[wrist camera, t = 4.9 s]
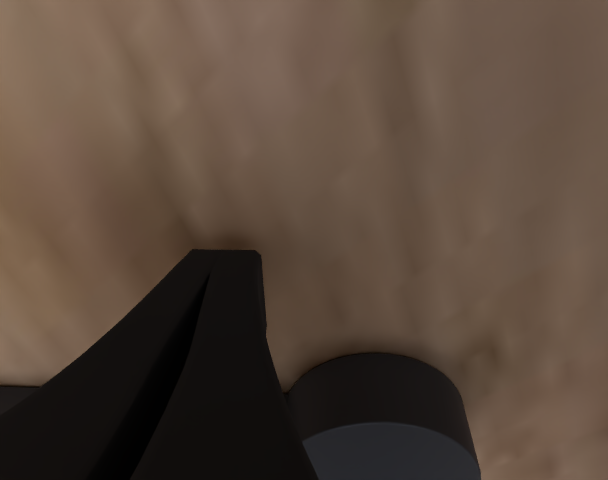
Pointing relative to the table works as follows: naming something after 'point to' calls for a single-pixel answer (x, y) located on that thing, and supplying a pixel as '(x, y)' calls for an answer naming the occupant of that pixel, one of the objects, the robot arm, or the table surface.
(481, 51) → the table surface
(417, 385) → the coffee scoop
